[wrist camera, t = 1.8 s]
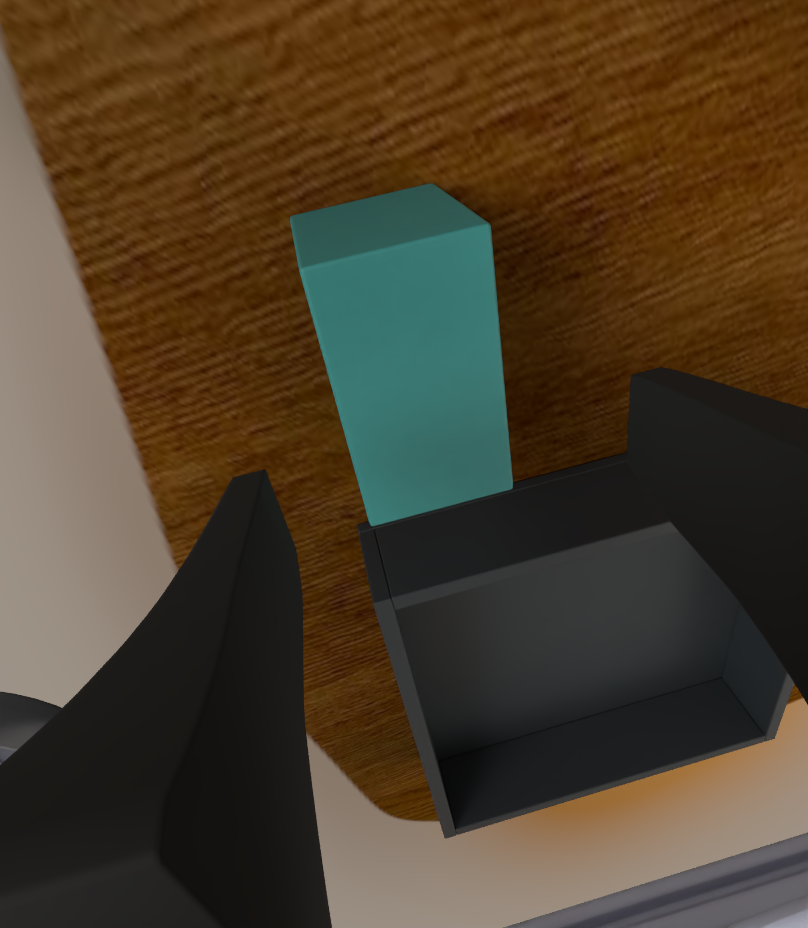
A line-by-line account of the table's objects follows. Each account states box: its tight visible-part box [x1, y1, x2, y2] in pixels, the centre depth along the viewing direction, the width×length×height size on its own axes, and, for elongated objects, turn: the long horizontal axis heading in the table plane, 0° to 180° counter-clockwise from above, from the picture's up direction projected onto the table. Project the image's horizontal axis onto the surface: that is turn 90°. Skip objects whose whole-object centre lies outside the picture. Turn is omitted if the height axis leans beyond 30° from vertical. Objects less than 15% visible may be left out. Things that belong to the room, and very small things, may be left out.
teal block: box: [290, 183, 513, 526], centre depth 16 cm, size 4×7×5 cm, turn 10°
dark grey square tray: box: [357, 453, 794, 838], centre depth 26 cm, size 17×17×4 cm
